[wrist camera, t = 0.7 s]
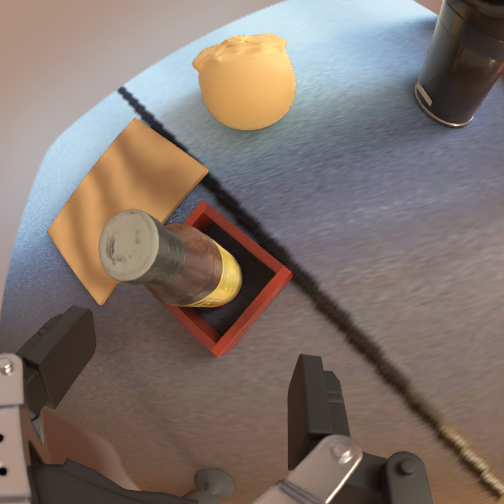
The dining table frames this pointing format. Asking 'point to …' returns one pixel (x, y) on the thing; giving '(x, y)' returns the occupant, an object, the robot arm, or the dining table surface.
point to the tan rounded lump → (247, 80)
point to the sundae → (211, 487)
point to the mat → (122, 198)
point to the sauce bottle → (169, 260)
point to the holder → (221, 345)
